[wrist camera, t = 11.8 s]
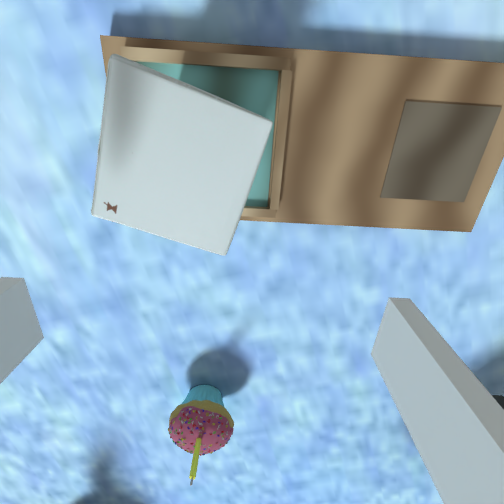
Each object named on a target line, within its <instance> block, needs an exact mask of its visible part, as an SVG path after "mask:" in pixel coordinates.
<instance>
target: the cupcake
mask: <svg viewBox="0 0 504 504" xmlns="http://www.w3.org/2000/svg"><path fill="white" fill-rule="evenodd" d="M233 426H234V421H233V419H232V418H231V416H230V414H229V413H228V411H227V410H226V409H225V408H224V404H223V401H222V396H221V393H220V391H219V390H218V389H217V388H215V387H213V386H210V385H198V386H196V387H194V388H192V389H191V390H190V392H189V394H188V395H187V397H186V399H185V400H184V402H183V403H182V404H181V405H179V406H177V407H176V409H175V410H174V411H173V412H172V413H171V415H170V420H169V428H168V431H169V434H170V435H171V436H170V438H172V439H173V442H175V443H176V444H177V446H178V447H180V448H181V449H184V450H185V451H187V452H190V453H191V454H192V453H194V454H193V460H192V466H191V471H190V477H189V478H190V479H191V483H190V485H192V482H193V479H195V477H196V471H197V465H198V459H199V455H205V454H207V453H212V452H215V451H216V450H219V448H221V447H224V445H225V444H227V443H228V440H230V437H231V435H233ZM176 444H175V445H176Z"/></svg>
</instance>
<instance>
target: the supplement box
mask: <svg viewBox="0 0 504 504" xmlns="http://www.w3.org/2000/svg"><path fill="white" fill-rule="evenodd" d="M272 125H273V122H272V121H271V120H269V119H267V118H265V117H263V116H261V115H259V114H256V113H254V112H251V111H249V110H247V109H245V108H242V107H240V106H238V105H236V104H234V103H231V102H229V101H227V100H225V99H222V98H220V97H218V96H215V95H213V94H211V93H208V92H206V91H204V90H201V89H199V88H197V87H194V86H192V85H190V84H187V83H185V82H183V81H180V80H178V79H175V78H173V77H170V76H168V75H166V74H163V73H161V72H158V71H156V70H153V69H151V68H149V67H146V66H144V65H141V64H139V63H137V62H134V61H132V60H129V59H127V58H125V57H122V56H120V55H117V54H112V55H111V56H110V58H109V61H108V70H107V77H106V87H105V97H104V106H103V114H102V124H101V132H100V139H99V145H98V159H97V167H96V177H95V186H94V194H93V203H92V209H91V214H92V215H93V216H95V217H98V218H102V219H105V220H109V221H112V222H116V223H119V224H122V225H126V226H129V227H132V228H135V229H139V230H142V231H145V232H148V233H151V234H154V235H158V236H161V237H164V238H167V239H170V240H174V241H177V242H180V243H183V244H187V245H190V246H193V247H196V248H199V249H203V250H206V251H209V252H212V253H216V254H219V255H226V254H227V251H228V249H229V247H230V244H231V242H232V239H233V236H234V234H235V231H236V228H237V226H238V223H239V220H240V217H241V215H242V212H243V209H244V207H245V204H246V201H247V198H248V196H249V193H250V190H251V187H252V184H253V182H254V179H255V176H256V173H257V170H258V167H259V164H260V161H261V159H262V156H263V153H264V150H265V147H266V144H267V141H268V138H269V135H270V132H271V129H272Z"/></svg>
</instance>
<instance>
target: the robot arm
mask: <svg viewBox="0 0 504 504" xmlns="http://www.w3.org/2000/svg"><path fill="white" fill-rule="evenodd" d="M43 338H44V337H43V334H42V331H41V328H40V325H39V322H38V319H37V316H36V313H35V310H34V307H33V304H32V301H31V298H30V295H29V292H28V289H27V286H26V283H25V280H24V278H11V277H1V278H0V384H1V383H2V382H3V381H4V379H5V378H6V377H7V376H8V375H9V374H10V373H11V372H12V371H13V370H14V369H15V368H16V367H17V366H18V365H19V364H20V363H21V361H22V360H23V359H24V358H25V357H26V356H27V355H28V354H29V353H30V352H31V351H32V350H33V349H34V348H35V347H36V346H37V345H38V343H39V342H40V341H41V340H42V339H43ZM371 355H372V357H373V359H374V361H375V363H376V365H377V367H378V370H379V372H380V374H381V376H382V378H383V380H384V382H385V384H386V386H387V388H388V390H389V392H390V394H391V396H392V398H393V400H394V402H395V404H396V406H397V408H398V411H399V413H400V415H401V417H402V419H403V421H404V423H405V425H406V427H407V429H408V431H409V433H410V435H411V437H412V439H413V441H414V443H415V445H416V447H417V449H418V451H419V454H420V456H421V458H422V460H423V462H424V464H425V466H426V468H427V470H428V472H429V474H430V476H431V478H432V480H433V482H434V484H435V486H436V488H437V490H438V492H439V495H440V497H441V499H442V501H443V503H444V504H504V397H503V396H497V395H491V394H490V393H489V392H488V391H487V389H486V388H485V387H484V386H483V385H482V383H481V382H480V381H479V380H478V379H477V378H476V376H475V375H474V374H473V373H472V372H471V370H470V369H469V368H468V367H467V366H466V365H465V363H464V362H463V361H462V360H461V359H460V357H459V356H458V355H457V354H456V353H455V352H454V350H453V349H452V348H451V347H450V346H449V344H448V343H447V342H446V341H445V340H444V339H443V337H442V336H441V335H440V334H439V333H438V331H437V330H436V329H435V328H434V327H433V326H432V324H431V323H430V322H429V321H428V320H427V318H426V317H425V316H424V315H423V314H422V313H421V311H420V310H419V309H418V308H417V307H416V305H415V304H414V303H413V302H412V301H411V300H410V299H408V298H389V299H388V302H387V305H386V308H385V311H384V314H383V318H382V321H381V324H380V327H379V330H378V333H377V336H376V339H375V343H374V346H373V349H372V352H371Z"/></svg>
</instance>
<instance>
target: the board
mask: <svg viewBox="0 0 504 504" xmlns="http://www.w3.org/2000/svg"><path fill="white" fill-rule="evenodd" d="M100 39H101V46H102V52H103V59H104V66H105V73H106V77H107V70H108V61H109V58H110V56H111V55H112V54H117V55H120V56H122V57H125V58H127V59H129V60H132V61H134V62H137V63H139V64H141V65H144V66H146V67H149V68H151V69H153V70H156V71H158V72H161V73H163V74H166V75H168V76H170V77H173V78H175V79H178V80H180V81H183V82H185V83H187V84H190V85H192V86H194V87H197V88H199V89H201V90H204V91H206V92H208V93H211V94H213V95H215V96H218V97H220V98H222V99H225V100H227V101H229V102H231V103H234V104H236V105H238V106H240V107H242V108H245V109H247V110H249V111H251V112H254V113H256V114H259V115H261V116H263V117H265V118H267V119H269V120H271V121H272V122H273V125H272V129H271V132H270V135H269V138H268V141H267V144H266V147H265V150H264V153H263V156H262V159H261V161H260V164H259V167H258V170H257V173H256V176H255V179H254V182H253V184H252V187H251V190H250V193H249V196H248V198H247V201H246V204H245V207H244V209H243V212H242V215H241V217H240V220H248V221H267V222H286V223H305V224H325V225H344V226H363V227H382V228H401V229H421V230H440V231H459V232H471V231H472V229H473V226H474V224H475V222H476V219H477V217H478V215H479V213H480V210H481V208H482V206H483V203H484V201H485V199H486V196H487V194H488V192H489V189H490V187H491V185H492V183H493V180H494V178H495V176H496V173H497V171H498V169H499V166H500V164H501V162H502V159H503V157H504V63H496V62H481V61H467V60H452V59H438V58H423V57H409V56H394V55H380V54H365V53H351V52H336V51H321V50H307V49H292V48H278V47H263V46H249V45H234V44H220V43H205V42H190V41H176V40H161V39H147V38H132V37H118V36H103V35H100Z"/></svg>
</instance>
